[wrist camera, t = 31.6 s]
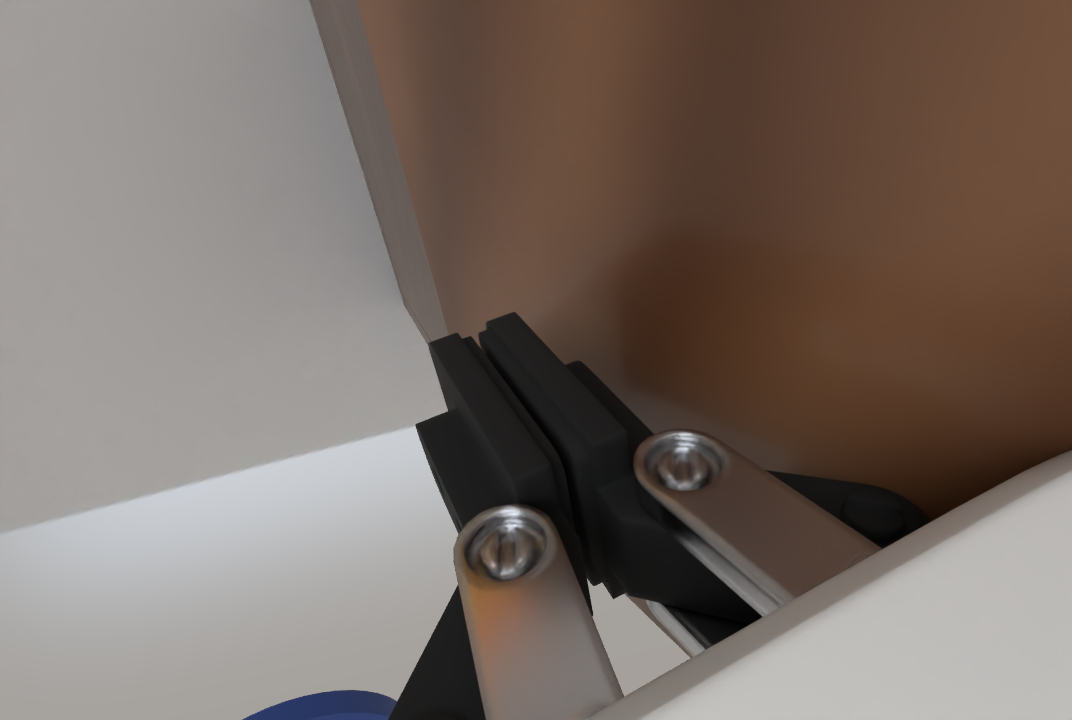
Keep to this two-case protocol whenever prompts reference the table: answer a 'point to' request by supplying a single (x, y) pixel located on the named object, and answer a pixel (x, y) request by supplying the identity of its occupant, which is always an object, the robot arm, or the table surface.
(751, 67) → the lid
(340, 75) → the chest
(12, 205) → the table surface
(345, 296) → the table surface
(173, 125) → the table surface
